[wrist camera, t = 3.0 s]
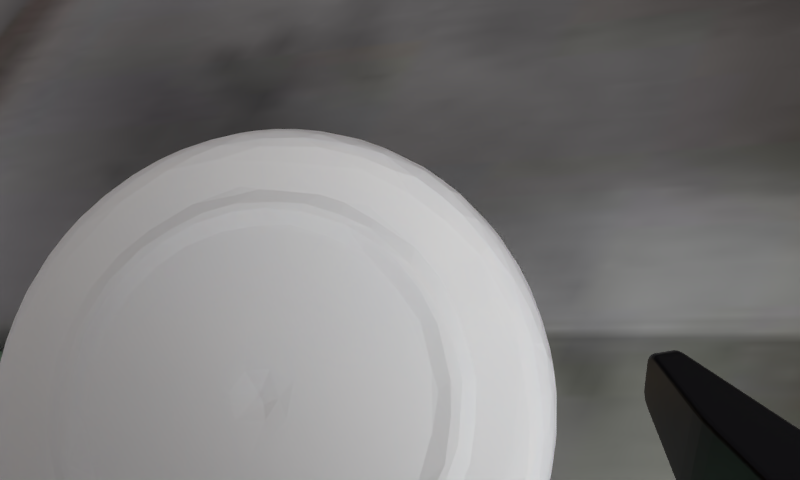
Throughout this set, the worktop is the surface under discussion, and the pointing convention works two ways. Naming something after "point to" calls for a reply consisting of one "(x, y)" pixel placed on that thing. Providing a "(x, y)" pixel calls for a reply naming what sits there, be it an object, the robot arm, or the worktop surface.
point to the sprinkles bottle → (279, 328)
